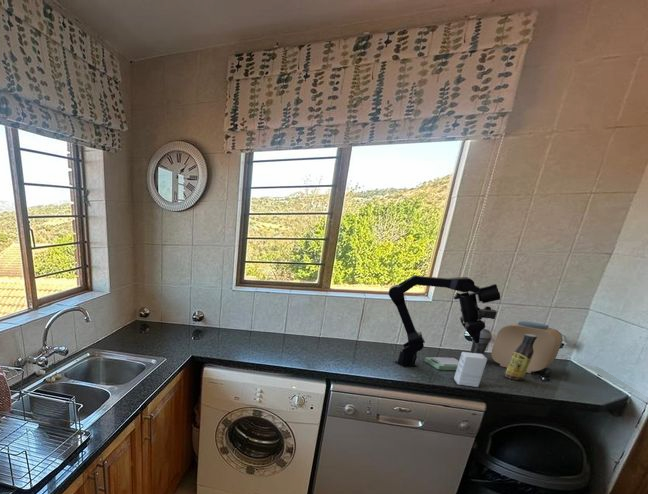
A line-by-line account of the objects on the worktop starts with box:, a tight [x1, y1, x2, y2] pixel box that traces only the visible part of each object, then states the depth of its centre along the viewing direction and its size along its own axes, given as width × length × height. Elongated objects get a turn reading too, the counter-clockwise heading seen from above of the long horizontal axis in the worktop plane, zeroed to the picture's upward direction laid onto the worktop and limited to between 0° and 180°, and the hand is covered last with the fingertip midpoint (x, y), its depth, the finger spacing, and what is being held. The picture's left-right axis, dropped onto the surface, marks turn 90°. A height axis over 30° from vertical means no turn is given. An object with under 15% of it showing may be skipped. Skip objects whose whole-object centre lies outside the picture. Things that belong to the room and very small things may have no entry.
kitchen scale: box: [424, 356, 459, 371], centre depth 191 cm, size 13×12×2 cm
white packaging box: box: [453, 351, 488, 388], centre depth 169 cm, size 7×7×13 cm
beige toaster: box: [490, 320, 563, 374], centre depth 185 cm, size 21×10×22 cm, turn 32°
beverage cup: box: [469, 319, 493, 355], centre depth 196 cm, size 7×7×20 cm
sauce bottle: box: [504, 334, 537, 381], centre depth 173 cm, size 7×6×20 cm
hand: (475, 340), depth 176 cm, fingers open, 9 cm apart
